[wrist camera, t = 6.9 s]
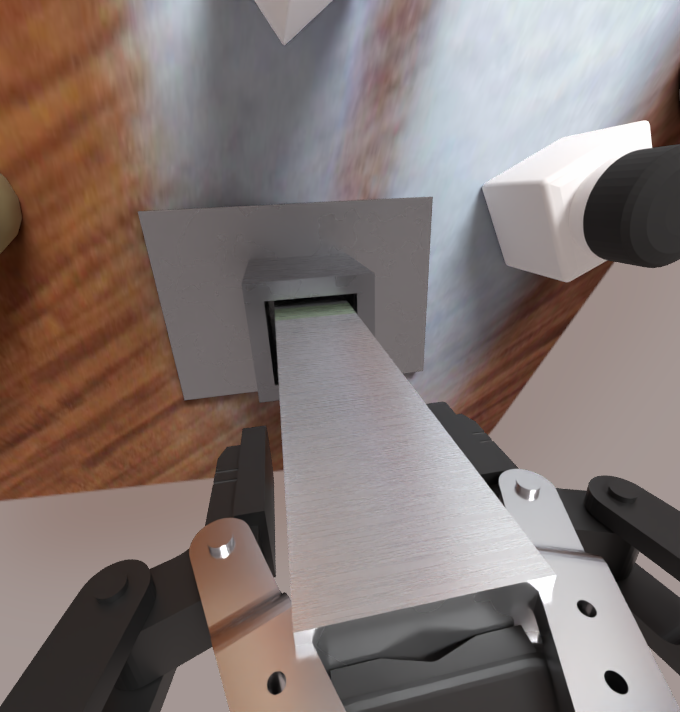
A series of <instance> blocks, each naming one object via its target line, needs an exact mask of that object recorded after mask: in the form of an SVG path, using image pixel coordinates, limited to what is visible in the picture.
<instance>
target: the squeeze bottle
mask: <svg viewBox="0 0 680 712" xmlns="http://www.w3.org/2000/svg"><path fill="white" fill-rule="evenodd" d="M21 220H22V215H21V209H20V204H19V199H18V197H17V195H16V194H15V192H14V190H13V189H12V187H11V185H10V184H9V182H8V181H7V179H6V178H5V177H4V176H3V175H2V174H1V173H0V253H1V252H2V251H3V250H4V249H5V248H6V247H7V246H8V245H9V243H10V242H11V241H12V240H13V239H14V238H15V237H16V236H17V235H18V231H19V227H20V224H21Z"/></svg>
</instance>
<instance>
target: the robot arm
mask: <svg viewBox="0 0 680 712" xmlns="http://www.w3.org/2000/svg"><path fill="white" fill-rule="evenodd" d="M679 99H680V91H679ZM426 405H427V406H428V408H429V409H430V410H431V412H432V413H433V414H434V415H435V417H436V418H437V419H438V421H439V422H440V423H441V425H442V426H443V427H444V429H445V430H446V431H447V432H448V434H449V435H450V436H451V438H452V439H453V440H454V442H455V443H456V444H457V445H458V447H459V448H460V449H461V451H462V452H463V453H464V455H465V456H466V457H467V459H468V460H469V461H470V462H471V464H472V465H473V466H474V468H475V469H476V470H477V472H478V473H479V474H480V476H481V477H482V478H483V479H484V481H485V482H486V483H487V485H488V486H489V487H490V489H491V490H492V491H493V493H494V494H495V495H496V496H497V498H498V499H499V500H500V502H501V503H502V504H503V506H504V507H505V508H506V509H507V511H508V512H509V513H510V515H511V516H512V517H513V519H514V520H515V521H516V523H517V524H518V525H519V526H520V528H521V529H522V530H523V532H524V533H525V534H526V536H527V537H528V538H529V540H530V541H531V542H532V543H533V545H534V546H535V547H536V549H537V550H538V551H539V553H540V554H541V555H542V556H543V558H544V559H545V560H546V562H547V563H548V564H549V566H550V567H551V568H552V570H553V571H554V572H555V573H556V578H555V582H554V585H553V588H550V589H545V590H541V591H539V593H538V597H537V601H536V604H535V608H534V612H533V613H534V616H535V619H536V622H537V626H538V629H539V636H538V640H537V643H536V642H531V641H530V639H529V637H528V636H527V634H526V632H525V631H524V629H523V627H522V626H521V625H518V626H513V627H509V628H505V629H501V630H497V631H493V632H488V633H484V634H480V635H477V636H475V637H473V638H472V639H470V640H469V641H467V642H466V643H464V644H463V645H461V646H460V647H458V648H456V649H455V650H453V651H452V652H450V653H449V654H447V655H446V656H444V657H443V658H441V659H439V660H437V661H434V662H423V661H409V660H395V659H381V658H380V659H376V660H371V661H367V662H363V663H359V664H355V665H350V666H346V667H342V668H338V669H334V670H330V673H331V680H330V678H329V676H328V674H327V672H326V670H325V668H324V666H323V664H322V662H321V660H320V658H319V656H318V654H317V652H316V650H315V648H314V646H313V644H312V642H311V643H307V644H302V645H298V646H295V641H294V634H293V620H292V603H291V600H290V598H289V596H288V595H287V594H286V593H283V594H282V593H281V591H280V590H279V588H278V586H277V584H276V581H275V579H274V577H276V565H275V517H274V516H275V515H274V477H273V467H272V460H271V453H270V446H269V439H268V433H267V427H266V426H259V427H252V428H244V429H243V430H242V439H241V445H238V446H231V447H227V448H226V449H225V450H224V452H223V453H222V454H221V456H220V457H219V458H218V461H217V467H216V474H215V477H214V485H213V488H212V493H211V498H210V503H209V508H208V513H207V519H206V524H205V527H204V528H203V529H201V530H200V531H199V532H198V533H197V534H196V536H195V537H194V539H193V540H192V543H191V545H190V548H189V549H188V550H187V551H185V552H184V553H182V554H181V555H179V556H177V557H175V558H173V559H171V560H169V561H167V562H164V563H162V564H160V565H158V566H156V567H154V568H151V569H149V568H148V566H147V565H146V564H145V563H143V562H142V561H139V560H124V561H120V562H117V563H114V564H112V565H110V566H108V567H106V568H104V569H102V570H101V571H100V572H98V573H97V574H96V575H94V576H93V577H92V578H91V579H90V580H89V581H88V582H87V583H86V584H85V585H84V587H83V588H82V589H81V590H80V592H79V593H78V595H77V596H76V598H75V599H74V600H73V602H72V603H71V605H70V606H69V608H68V609H67V611H66V612H65V613H64V615H63V616H62V618H61V619H60V621H59V622H58V624H57V625H56V626H55V628H54V629H53V631H52V632H51V634H50V635H49V637H48V638H47V640H46V641H45V643H44V644H43V645H42V647H41V648H40V650H39V651H38V653H37V654H36V656H35V657H34V658H33V660H32V661H31V663H30V664H29V666H28V667H27V669H26V670H25V671H24V673H23V674H22V676H21V677H20V679H19V680H18V682H17V683H16V685H15V686H14V687H13V689H12V690H11V692H10V693H9V695H8V696H7V697H6V699H5V700H4V702H3V703H2V705H1V706H0V712H160V711H161V708H162V706H163V703H164V700H165V698H166V695H167V692H168V690H169V687H170V684H171V682H172V679H173V676H174V673H175V671H176V668H177V667H178V666H180V665H181V664H183V663H185V662H187V661H188V660H190V659H192V658H194V657H195V656H197V655H199V654H201V653H202V652H204V651H206V650H207V649H209V648H211V647H213V650H214V654H215V657H216V661H217V665H218V669H219V673H220V677H221V680H222V684H223V688H224V692H225V696H226V699H227V703H228V707H229V711H230V712H680V709H679V707H678V705H677V703H676V701H675V699H674V697H673V695H672V693H671V691H670V689H669V687H668V685H667V683H666V681H665V679H664V677H663V675H662V673H661V671H660V669H659V667H658V665H657V663H656V661H655V659H654V657H653V655H652V653H651V651H650V649H649V647H650V648H651V649H652V650H653V651H654V652H655V653H656V654H657V655H658V656H660V657H661V658H662V659H663V660H664V661H665V662H666V663H667V664H668V665H669V666H670V667H671V668H672V669H673V670H675V671H676V672H677V673H678V674H679V675H680V597H678V596H677V595H676V594H674V593H673V592H672V591H671V590H669V589H668V588H667V587H666V586H664V585H663V584H662V583H660V582H659V581H658V580H657V579H655V578H654V577H653V576H652V575H650V574H649V573H648V572H646V571H645V570H644V569H643V568H641V567H640V566H639V565H638V564H636V563H635V561H636V559H637V556H638V554H639V552H641V553H642V554H644V555H645V556H646V557H648V558H649V559H650V560H652V561H653V562H654V563H656V564H657V565H658V566H660V567H661V568H662V569H664V570H665V571H666V572H668V573H669V574H670V575H672V576H673V577H674V578H676V579H677V580H678V581H680V511H678V510H677V509H675V508H674V507H672V506H670V505H669V504H667V503H665V502H664V501H662V500H661V499H659V498H657V497H656V496H654V495H652V494H651V493H649V492H647V491H646V490H644V489H643V488H641V487H639V486H638V485H636V484H634V483H632V482H629V481H627V480H624V479H621V478H618V477H613V476H597V477H595V478H593V479H591V481H590V482H589V485H588V488H587V491H582V490H570V489H559V488H555V487H554V486H553V484H552V483H551V482H550V481H549V480H547V479H546V478H544V477H543V476H541V475H539V474H537V473H535V472H532V471H529V470H524V469H519V468H518V467H517V466H516V465H515V464H514V463H513V462H512V461H511V460H510V459H509V458H508V457H507V455H506V454H505V453H504V452H503V451H502V450H501V449H500V448H499V447H498V446H497V445H496V444H495V443H494V442H493V441H492V440H491V438H490V437H489V436H488V435H487V434H486V433H484V431H483V430H482V428H481V427H480V426H479V425H478V424H477V423H476V422H475V421H473V420H472V419H470V418H468V417H466V416H464V415H463V414H457V415H456V414H455V413H454V412H453V410H452V409H451V408H450V407H449V406H448V405H447V404H446V403H445V402H437V403H430V404H426ZM648 646H649V647H648Z"/></svg>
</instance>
